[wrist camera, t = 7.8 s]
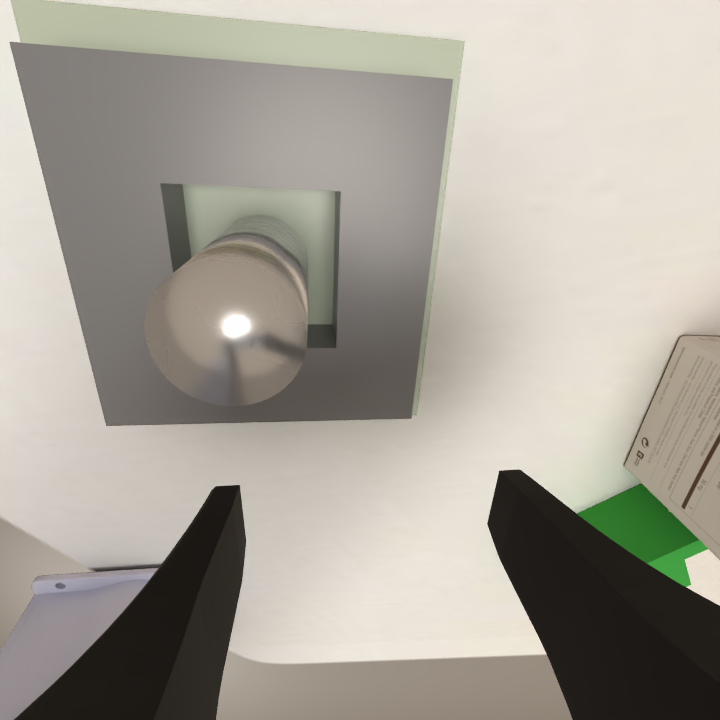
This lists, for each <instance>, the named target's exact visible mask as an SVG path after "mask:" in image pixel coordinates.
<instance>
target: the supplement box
mask: <svg viewBox="0 0 720 720" xmlns="http://www.w3.org/2000/svg"><path fill="white" fill-rule="evenodd" d="M625 468H626V469H627V470H628V471H629V472H630V473H631V474H633V475H634V476H635V477H636V478H637V479H638V480H639V481H640V482H641V483H642V484H643V485H644V486H645V487H646V488H647V489H648V490H649V491H650V492H651V493H652V494H653V495H654V496H655V497H656V498H657V499H658V500H659V501H660V502H661V503H662V504H663V505H664V506H665V507H666V508H667V509H668V510H669V511H670V512H671V513H672V514H673V515H674V516H675V517H676V518H677V519H678V520H679V521H680V522H682V523H683V524H684V525H685V526H686V527H687V528H688V529H689V530H690V531H691V532H692V533H693V534H694V535H695V536H696V537H697V538H698V539H699V540H700V541H701V542H702V543H703V544H704V545H705V546H706V547H707V548H708V549H709V550H710V551H711V552H712V553H713V554H714V555H715V556H716V557H717V558H718V559H719V560H720V337H717V336H682V337H681V338H680V339H679V341H678V343H677V345H676V348H675V350H674V352H673V355H672V357H671V359H670V362H669V364H668V366H667V369H666V371H665V373H664V375H663V378H662V380H661V382H660V385H659V387H658V389H657V391H656V394H655V396H654V398H653V400H652V403H651V405H650V407H649V410H648V412H647V414H646V417H645V419H644V421H643V424H642V426H641V428H640V431H639V433H638V435H637V438H636V440H635V442H634V445H633V447H632V450H631V452H630V454H629V457H628V459H627V461H626V463H625Z"/></svg>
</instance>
